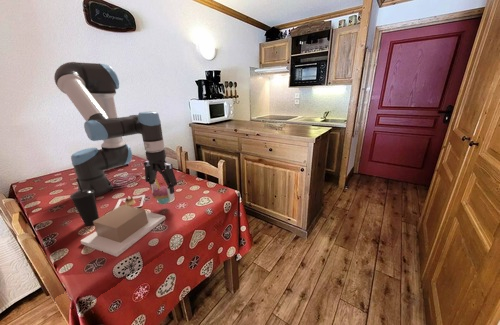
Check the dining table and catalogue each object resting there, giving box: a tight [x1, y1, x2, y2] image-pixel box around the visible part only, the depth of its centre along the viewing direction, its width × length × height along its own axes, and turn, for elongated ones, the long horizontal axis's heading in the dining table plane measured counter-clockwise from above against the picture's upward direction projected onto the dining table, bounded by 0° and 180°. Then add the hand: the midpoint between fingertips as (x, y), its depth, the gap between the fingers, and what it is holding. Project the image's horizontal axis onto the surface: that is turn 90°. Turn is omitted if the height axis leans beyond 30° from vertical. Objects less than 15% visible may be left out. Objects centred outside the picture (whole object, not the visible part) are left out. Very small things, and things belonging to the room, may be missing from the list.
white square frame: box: [113, 194, 146, 210], centre depth 98 cm, size 12×12×5 cm
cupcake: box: [151, 178, 170, 205], centre depth 91 cm, size 9×8×12 cm
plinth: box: [80, 204, 167, 257], centre depth 78 cm, size 18×22×8 cm
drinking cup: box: [69, 177, 100, 227], centre depth 82 cm, size 8×8×20 cm
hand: (164, 197), depth 93 cm, fingers closed on cupcake, 8 cm apart
